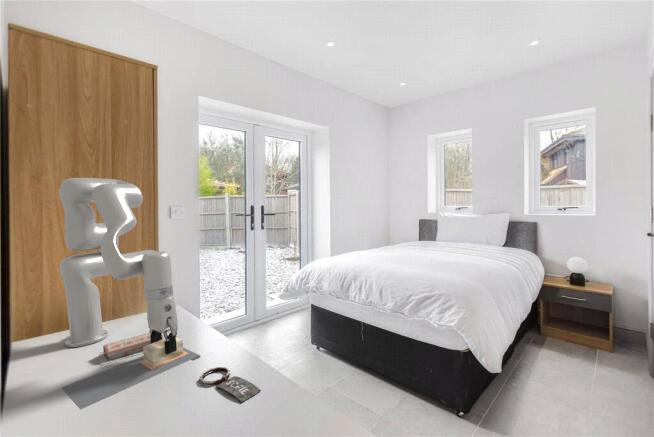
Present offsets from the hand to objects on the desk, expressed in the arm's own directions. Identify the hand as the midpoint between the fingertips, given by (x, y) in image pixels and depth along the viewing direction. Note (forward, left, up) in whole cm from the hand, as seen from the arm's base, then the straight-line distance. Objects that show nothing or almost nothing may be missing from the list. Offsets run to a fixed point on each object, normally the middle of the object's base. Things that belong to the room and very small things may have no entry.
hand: (163, 348), depth 96 cm
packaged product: (-15, -3, -4) cm, 16 cm away
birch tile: (0, 0, -3) cm, 3 cm away
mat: (0, -8, -4) cm, 9 cm away
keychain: (+29, +2, -4) cm, 29 cm away
